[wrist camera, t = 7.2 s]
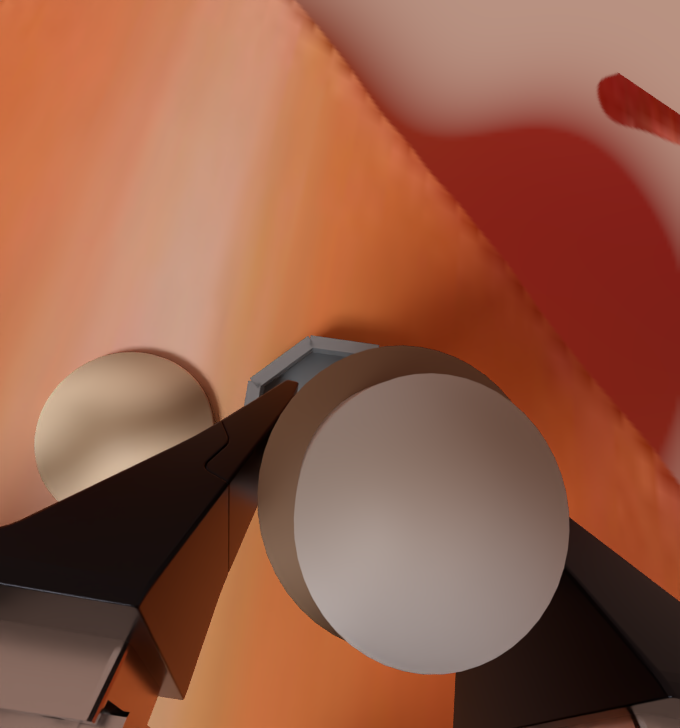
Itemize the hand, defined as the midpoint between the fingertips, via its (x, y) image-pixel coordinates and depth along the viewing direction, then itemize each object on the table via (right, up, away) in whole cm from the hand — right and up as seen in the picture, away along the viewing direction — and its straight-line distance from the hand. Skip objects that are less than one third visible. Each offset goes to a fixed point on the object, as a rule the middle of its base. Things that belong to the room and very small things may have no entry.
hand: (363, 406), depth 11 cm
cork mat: (-15, -3, +10) cm, 19 cm away
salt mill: (-1, -2, +6) cm, 6 cm away
